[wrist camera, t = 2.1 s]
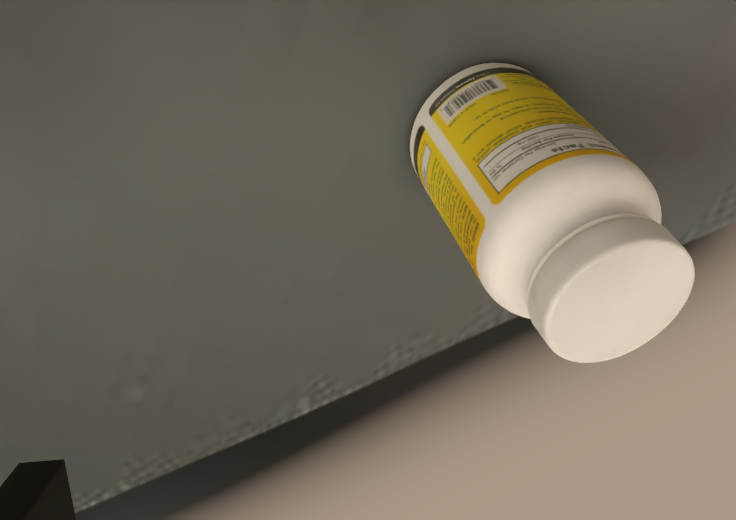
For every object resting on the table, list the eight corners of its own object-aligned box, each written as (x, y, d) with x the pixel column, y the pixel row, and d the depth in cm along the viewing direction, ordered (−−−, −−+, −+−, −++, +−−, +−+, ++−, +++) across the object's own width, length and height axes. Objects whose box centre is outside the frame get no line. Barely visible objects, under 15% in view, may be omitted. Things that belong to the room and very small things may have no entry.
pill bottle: (496, 209, 30) (626, 394, 22) (380, 171, 27) (479, 367, 19) (577, 88, 27) (763, 249, 19) (456, 32, 24) (612, 192, 16)
